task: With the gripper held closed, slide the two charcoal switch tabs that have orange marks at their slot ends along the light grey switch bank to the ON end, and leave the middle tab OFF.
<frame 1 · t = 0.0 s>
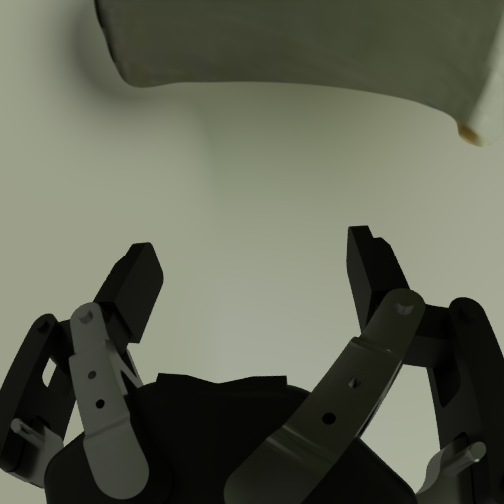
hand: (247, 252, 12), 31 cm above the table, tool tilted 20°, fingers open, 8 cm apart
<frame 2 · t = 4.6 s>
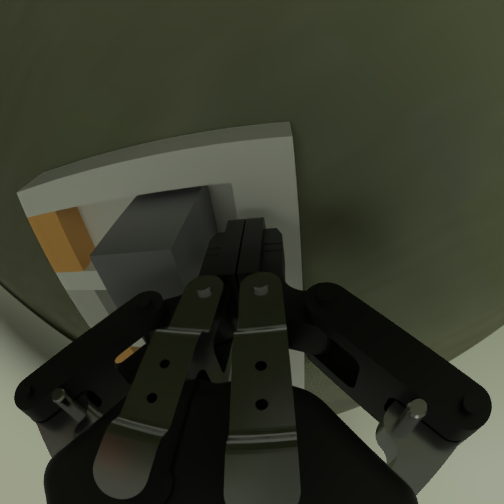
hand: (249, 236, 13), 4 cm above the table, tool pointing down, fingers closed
tab c: (164, 245, 14), point 4 cm above the table, slide at 1.2 cm, touching gripper
switch bank: (184, 282, 21), on the table
tab b: (216, 329, 17), point 4 cm above the table, slide at 0.0 cm
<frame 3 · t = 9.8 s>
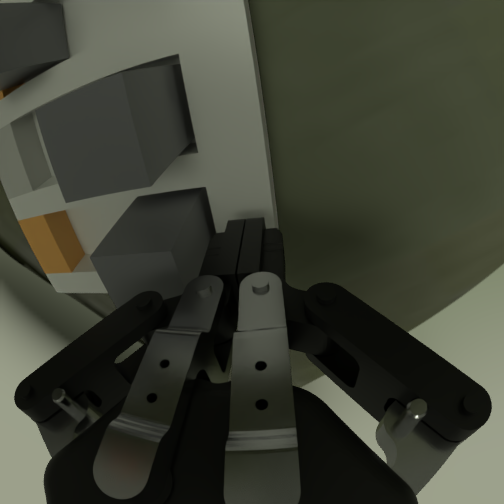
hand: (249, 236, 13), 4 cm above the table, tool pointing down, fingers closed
tab c: (4, 49, 8), point 4 cm above the table, slide at 6.1 cm
switch bank: (114, 116, 14), on the table
tab b: (127, 121, 10), point 4 cm above the table, slide at 0.0 cm
tab a: (165, 246, 14), point 4 cm above the table, slide at 0.0 cm, touching gripper
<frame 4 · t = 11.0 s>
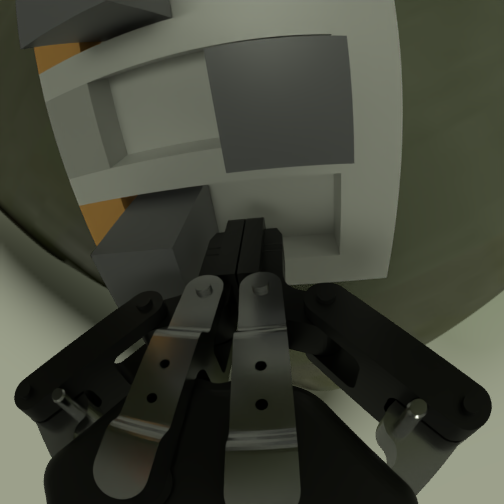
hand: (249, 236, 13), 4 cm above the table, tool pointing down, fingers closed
switch bank: (218, 91, 13), on the table
tab b: (281, 91, 9), point 4 cm above the table, slide at 0.0 cm
tab a: (165, 244, 14), point 4 cm above the table, slide at 5.9 cm, touching gripper
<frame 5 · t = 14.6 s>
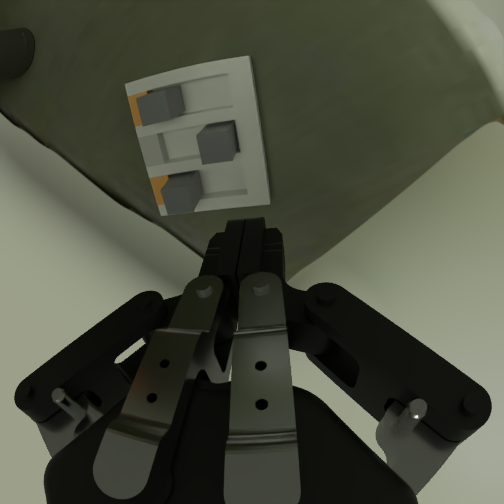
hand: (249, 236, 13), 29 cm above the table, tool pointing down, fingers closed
tab c: (162, 104, 32), point 4 cm above the table, slide at 6.1 cm
switch bank: (202, 136, 39), on the table
tab b: (218, 141, 35), point 4 cm above the table, slide at 0.0 cm
tab a: (183, 190, 39), point 4 cm above the table, slide at 6.1 cm
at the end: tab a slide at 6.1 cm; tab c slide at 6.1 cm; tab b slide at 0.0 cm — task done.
